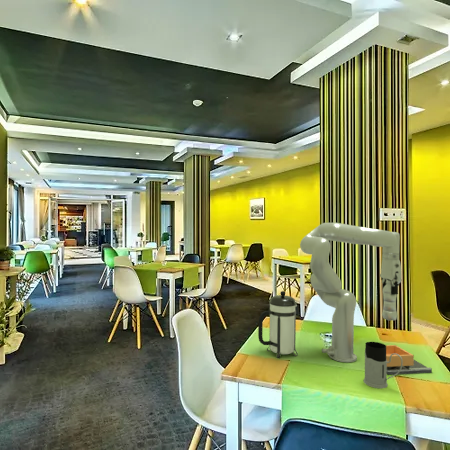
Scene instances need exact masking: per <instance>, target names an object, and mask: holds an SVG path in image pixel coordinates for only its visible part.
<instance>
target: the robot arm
mask: <svg viewBox="0 0 450 450" xmlns="http://www.w3.org/2000/svg"><path fill="white" fill-rule="evenodd" d="M400 236H401V235H400V233H399V232H398V231H397V232H396V231H389V230H384V229H376V228H369V227H366V226H365V227H364V226H358V225H352V224H346V223H341V222H322V223H321V224H319V225H318V226H316V227H315V228H314V229H312V230H311V231H310V232H309V233H307V234H306V235H305V236H304V237H303V238H302V239H301V241H300V243H299V246H300V250H301V251H302V253H304V254H306V255H311V257H310V263H309V264H310V270H311V272H312V274H311V276H310V284H311V287H312V288H313V290H314V291H315V293H316V294H317V296H318V297H319V298H320V299H321V301H322V302H323V303H324V304H325V305H327V306H329V307H332V308H334V312H333V315H332V317H331V318H332V319H331V345H329V347H327V348H322V349H321V353H323V354H327V355H328V357H329V358H330V359H331V360H333V361H336V362H341V363H355V362H356V361H357V360H358V356H357V354H355V353H354V340H355V339H354V336H355V335H354V334H355V333H354V332H355V331H354V329H355V326H354V324H355V323H354V322H355V319H354V318H355V311H356V307H357V298H356V296H355V295H354V293H353V292H351V291H350V290H348V289H342V286H343V284H342V281H341V278H339V276H338V274H337V273H336V271H335V270H334V269H333V267H332V266H331V264H330V262H329V256H330V253H331V247H332V245H331V242H332V241H334V242H339V243H347V244H353V245H364V246H366V245H367V246H369V245H370V246H372V247H377V248H378V247H381V248H382V253H381V254H382V256H381V257H382V258H381V259H382V260H381V266H380V274H379V277H380V280H381V283H382V292H383V288H384V286H385V285H386V279H388V280H391V282H392V286H391V294H397V295H398V294H399V286H400V284H401V282H402V266H401V261H400V240H401V239H400V238H401V237H400ZM330 241H331V242H330Z"/></svg>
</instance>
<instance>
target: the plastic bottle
mask: <svg viewBox="0 0 450 450" xmlns="http://www.w3.org/2000/svg"><path fill="white" fill-rule="evenodd" d="M391 286H392V282H391V280H388V279H386V285H385V286H384V288H383V287H382V288H383V291H382V296H383V309H382V313H381V316H382V318H383V319H384V320H385V321H386V320H387V321H396V320H397V317H398V311H397V296H398V294H391Z"/></svg>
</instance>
